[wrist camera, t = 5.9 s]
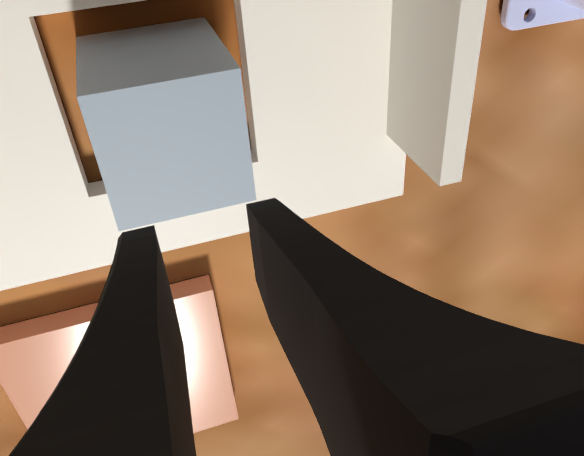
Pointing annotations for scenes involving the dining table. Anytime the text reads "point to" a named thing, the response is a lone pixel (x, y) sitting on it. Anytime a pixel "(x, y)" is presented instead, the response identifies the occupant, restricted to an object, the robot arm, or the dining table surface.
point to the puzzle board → (250, 122)
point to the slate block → (165, 120)
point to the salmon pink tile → (70, 330)
